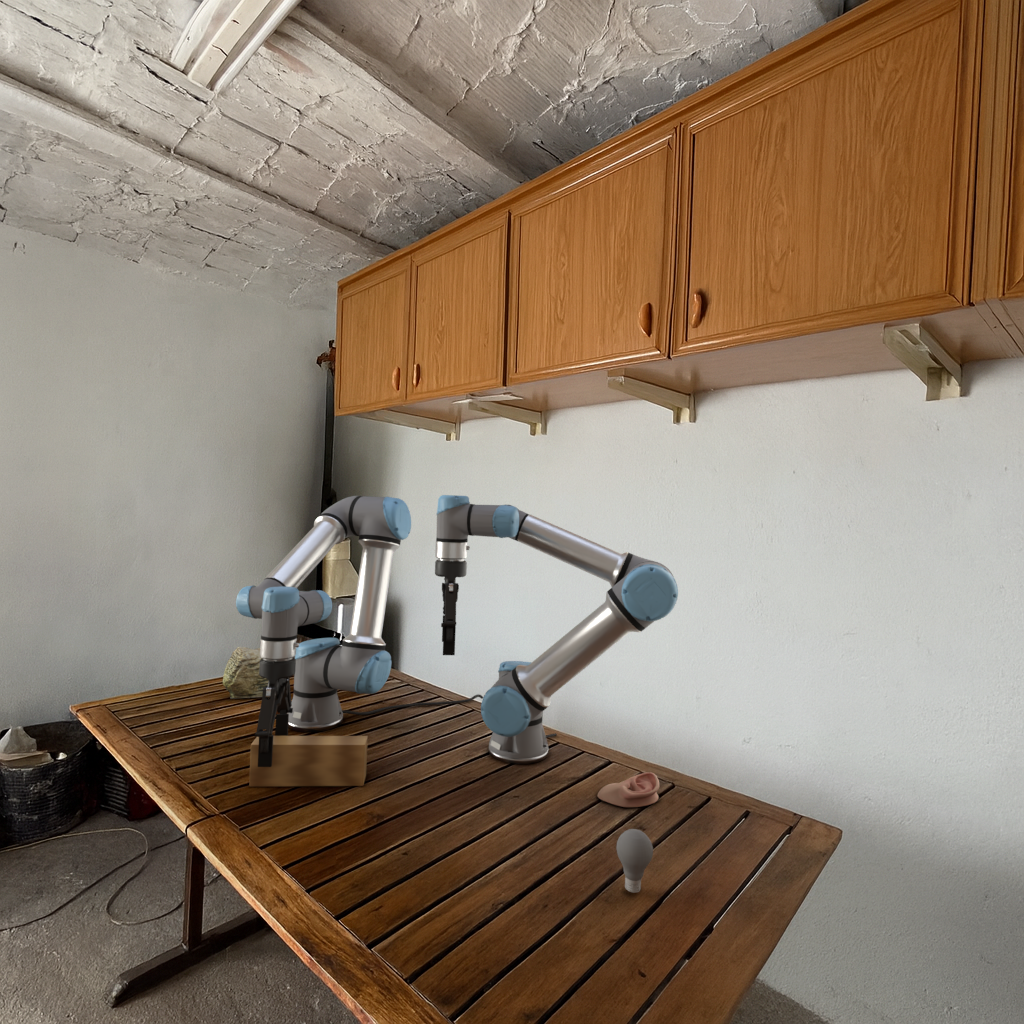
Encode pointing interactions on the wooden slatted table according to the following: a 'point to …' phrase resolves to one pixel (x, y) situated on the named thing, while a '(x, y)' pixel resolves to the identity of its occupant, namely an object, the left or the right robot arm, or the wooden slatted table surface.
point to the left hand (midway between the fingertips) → (273, 754)
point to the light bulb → (634, 857)
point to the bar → (312, 761)
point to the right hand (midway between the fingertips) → (448, 648)
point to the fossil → (244, 674)
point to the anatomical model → (632, 791)
